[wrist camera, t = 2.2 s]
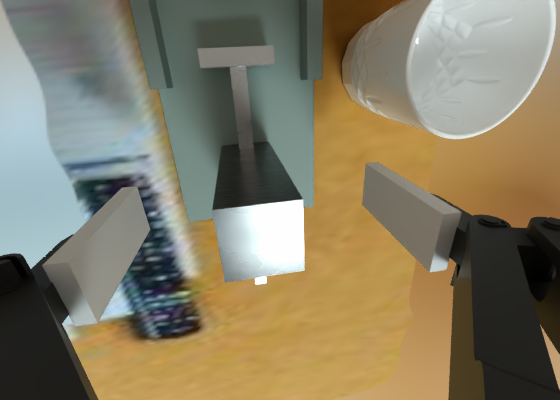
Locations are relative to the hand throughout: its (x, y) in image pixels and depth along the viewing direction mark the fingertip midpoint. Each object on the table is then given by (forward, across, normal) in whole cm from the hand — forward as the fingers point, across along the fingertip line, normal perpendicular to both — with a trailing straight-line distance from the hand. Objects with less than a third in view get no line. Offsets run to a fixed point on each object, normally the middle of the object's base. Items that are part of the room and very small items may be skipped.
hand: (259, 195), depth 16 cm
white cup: (+9, +11, +6) cm, 16 cm away
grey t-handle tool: (+6, 0, -1) cm, 6 cm away
